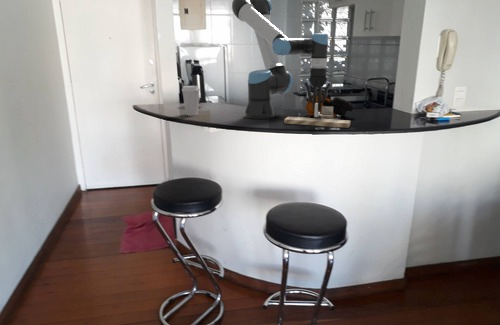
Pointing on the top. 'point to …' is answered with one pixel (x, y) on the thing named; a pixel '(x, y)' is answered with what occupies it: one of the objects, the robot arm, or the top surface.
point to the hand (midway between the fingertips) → (316, 116)
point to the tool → (331, 105)
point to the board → (317, 122)
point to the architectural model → (327, 113)
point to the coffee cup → (191, 99)
